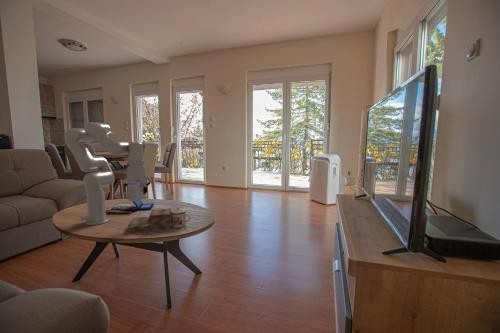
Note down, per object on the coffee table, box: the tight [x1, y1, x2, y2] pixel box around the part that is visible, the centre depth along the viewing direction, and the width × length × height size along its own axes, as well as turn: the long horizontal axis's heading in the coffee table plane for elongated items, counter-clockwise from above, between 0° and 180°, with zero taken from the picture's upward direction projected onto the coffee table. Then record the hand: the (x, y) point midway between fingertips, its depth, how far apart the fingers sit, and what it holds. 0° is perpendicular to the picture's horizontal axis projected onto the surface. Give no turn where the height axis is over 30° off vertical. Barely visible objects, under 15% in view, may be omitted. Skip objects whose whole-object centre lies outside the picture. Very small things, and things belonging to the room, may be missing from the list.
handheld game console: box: [131, 200, 155, 212], centre depth 179 cm, size 16×13×9 cm
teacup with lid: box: [171, 205, 191, 229], centre depth 143 cm, size 12×9×12 cm
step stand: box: [128, 207, 172, 236], centre depth 138 cm, size 22×17×9 cm
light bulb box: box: [127, 181, 148, 202], centre depth 136 cm, size 11×7×11 cm, turn 4°
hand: (137, 193), depth 136 cm, fingers closed on light bulb box, 7 cm apart
